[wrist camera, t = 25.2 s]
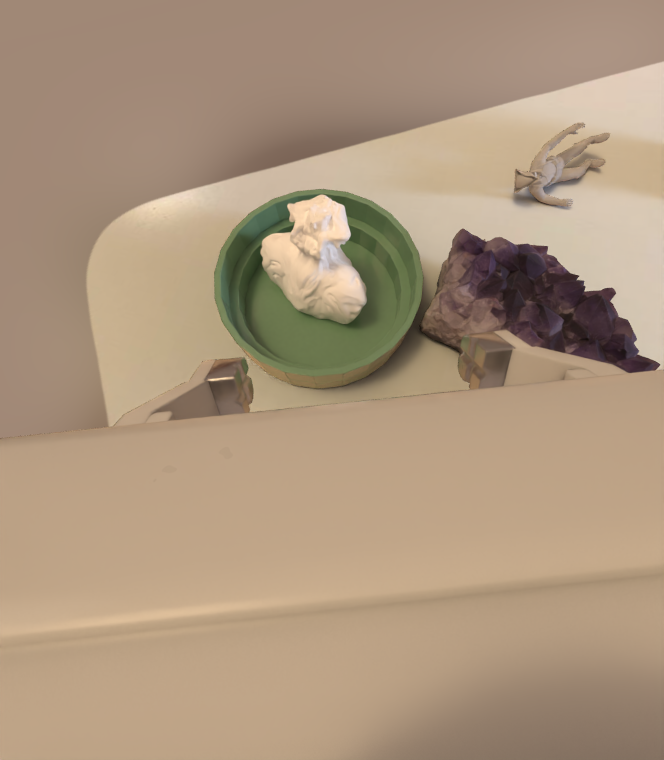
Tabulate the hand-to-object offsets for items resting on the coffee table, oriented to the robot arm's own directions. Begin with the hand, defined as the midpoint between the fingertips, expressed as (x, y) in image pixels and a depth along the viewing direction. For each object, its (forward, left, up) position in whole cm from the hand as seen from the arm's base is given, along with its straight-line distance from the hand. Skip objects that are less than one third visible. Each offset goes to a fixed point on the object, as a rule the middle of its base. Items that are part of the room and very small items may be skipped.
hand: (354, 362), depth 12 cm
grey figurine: (-28, -26, -20) cm, 43 cm away
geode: (-18, -7, -20) cm, 27 cm away
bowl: (+1, -13, -19) cm, 23 cm away
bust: (+1, -14, -19) cm, 24 cm away
